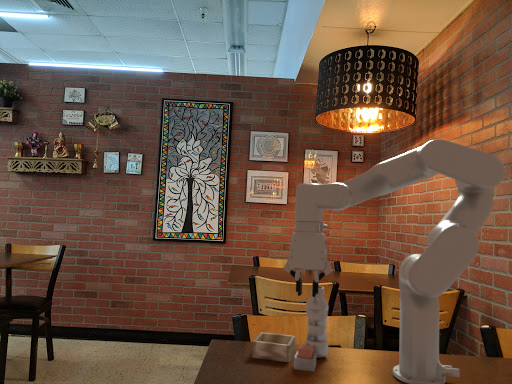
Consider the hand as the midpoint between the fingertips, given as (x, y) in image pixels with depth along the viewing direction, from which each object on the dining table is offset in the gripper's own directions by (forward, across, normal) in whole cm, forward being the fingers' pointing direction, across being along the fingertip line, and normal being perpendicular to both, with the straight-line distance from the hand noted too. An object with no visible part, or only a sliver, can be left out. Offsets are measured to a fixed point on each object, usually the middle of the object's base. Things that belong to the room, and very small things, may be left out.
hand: (306, 294), depth 110 cm
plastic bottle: (+19, -2, -9) cm, 22 cm away
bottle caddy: (+19, +10, -6) cm, 23 cm away
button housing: (+19, 0, 0) cm, 19 cm away
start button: (+17, 0, 0) cm, 17 cm away
